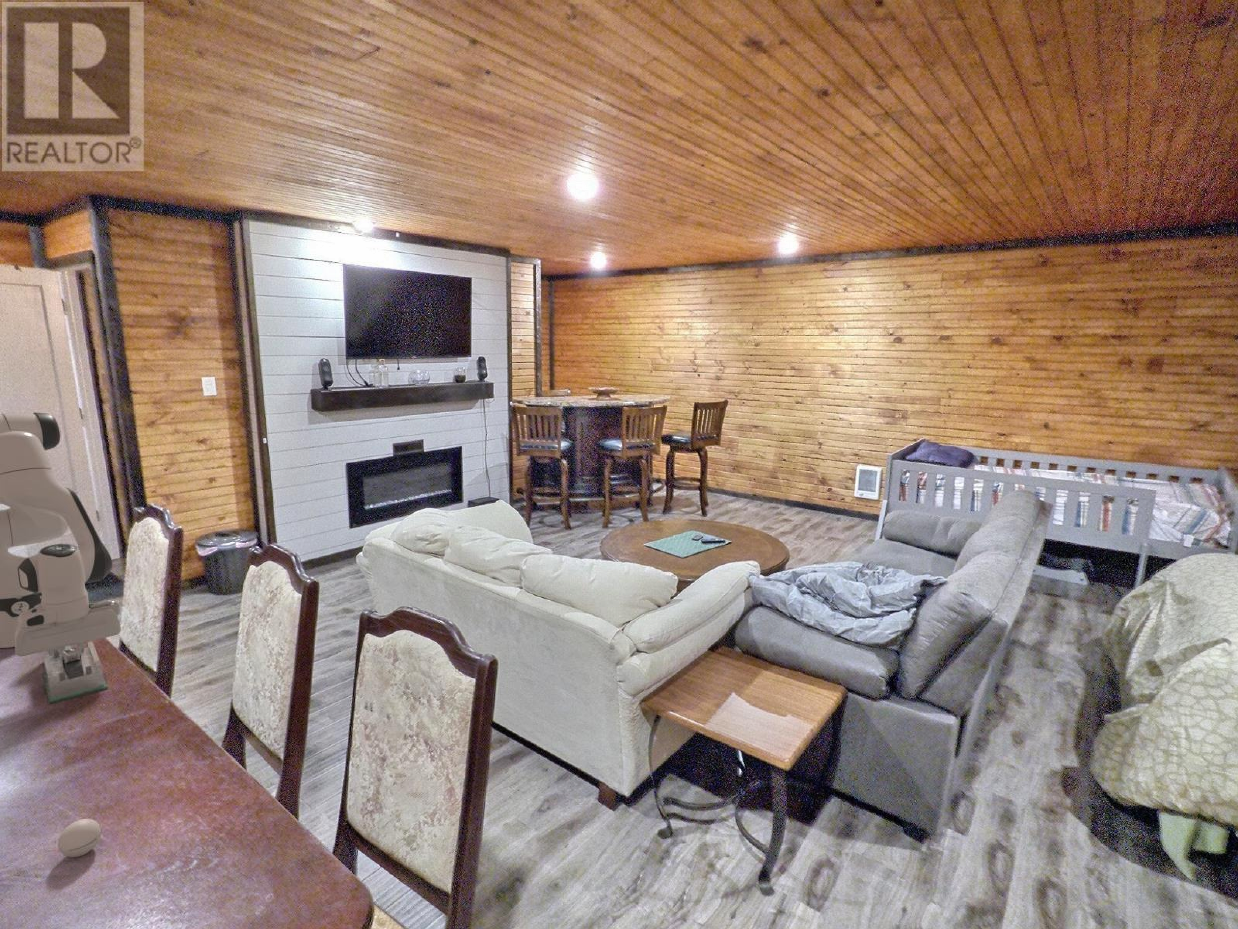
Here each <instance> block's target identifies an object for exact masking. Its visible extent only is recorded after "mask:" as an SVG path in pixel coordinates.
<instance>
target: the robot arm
mask: <svg viewBox="0 0 1238 929" xmlns="http://www.w3.org/2000/svg"><path fill="white" fill-rule="evenodd" d="M61 436H62V430H61V427H60V425H59V423H58V421H57V420H56V418H55V417H54V416H52V415H51V414H49V413H45V412H33V413H27V412H25V413H23V412H21V413H20V412H18V413H17V412H12V413H9V412H6V413H1V414H0V505H4V506H7V507H9V508H7V509H1V510H0V649H1V648H2V649H7V648H14V652H15V655H16V656H18V657H21V658H22V657H25V656H26V657H27V656H30V655H34V654H38V653H43V652H44V651H48V650H53V649H57V650H58V653H60V654H61V655H62V656H63V657H64V659H65V663H68V662H72V661H76V660H80V653H81V651H82V650H83V648H85V643H88V642H91V641H92V642H93V641H97V640H100V639H105V638H106V639H107V638H108V637H113V636H118V635H119V633H120V632H121V631H122V629H121V628H122V627H121V622H120V619H119V617H118V616H119V615H120V613H121V611H120V610H121V608H120V604H119V603H118V602H117V601H112V600H106V601H103V602H96V603H91V604H90V602H89V601H90V600H89V593H88V590H87V588H86V585H85V584H89V583H90V584H91V583H95V582H101V581H102V580H104V578H106V576H108V574H109V573H110V572H111V571H112V570H113V560H112V556H111V554H110V552H109V551H108V549H107V548H106V546H105V544H104V543H103V542H102V540H101V538H100V537H99V534H98V533H97V531H96V528H95V527H94V525H93V523H92V520H91V519H90V517H89V515H88V514H89V513H88V512H87V511H86V509H85V507H84V505H83V504H82V501H81V499H80V498H79V497H78V494H77V493H76V492H75V491H74V490H73V489H72V488H69V487H65V486H64V485H62V483H60V482H59V480H57V478H56V476H55V474H54V472H53V470H52V466H51V463H50V462H51V461H50V459H49V456H48V453H47V451H49V450H51V449H55V448H56V447H57V446H58V445H59V444H60V441H61ZM68 528H69V530H70V531H71V534H72V536H73V538H74V539H75V542H76V543H77V545H74V544H71V543H57V544H56V543H55V544H50V545H48V546H47V545H46V546H45V547H42V548H41V549H40V550H39V551H38V553H37V554H34V555H31V556H29V557H27V556H22V555H17V554H16V555H15V554H13V553H11V552H9V549H11V548H15V547H20V546H21V547H22V546H29V545H35V544H40V543H45V542H49V541H53V540H56V539H59V538H62V537H63V536H64V535H65V534H66V532H67V530H68ZM70 645H71V646H73V645H74V646H75V645H76V647H77V648H76V649H77V650H76V652H73V653H69V654H67V653H66V652H65V647H66V646H70Z"/></svg>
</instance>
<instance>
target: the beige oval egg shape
mask: <svg viewBox="0 0 1238 929" xmlns="http://www.w3.org/2000/svg"><path fill="white" fill-rule="evenodd" d="M116 823H117V822H113V823H112V824H109V825H108V826H106V827H103V828H101V826H100V823H98V822H97V821H96V820H94V819H90V818H83V819H78V820H76V821H73V822H72V823H70V824H68V826H67V827H65V829H63V831H62V832H61V834H60V835H59V837H58V841H57V847H58V850H59V852H60V853H61V854H62V855H63V856H66V857H68V858H78V857H81V856H83V855H86V854H88V853H89V852H90V851H91V850H93V849H94V848H95V847H96V846H97V844H98V843H99V841H100V839H101V836H102V831H103V830H104V829H105V828H108V827H110V826H113V825H114V824H116ZM102 829H103V830H102Z"/></svg>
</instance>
